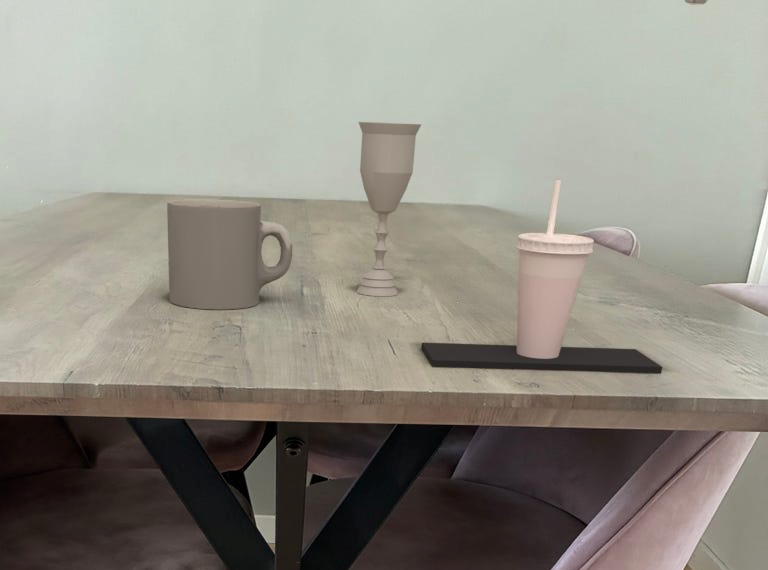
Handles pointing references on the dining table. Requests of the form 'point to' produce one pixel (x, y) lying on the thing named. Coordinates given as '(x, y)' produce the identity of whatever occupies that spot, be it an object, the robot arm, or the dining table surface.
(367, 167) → the chalice
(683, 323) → the dining table surface
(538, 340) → the smoothie
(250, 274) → the coffee mug
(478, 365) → the edge strip
